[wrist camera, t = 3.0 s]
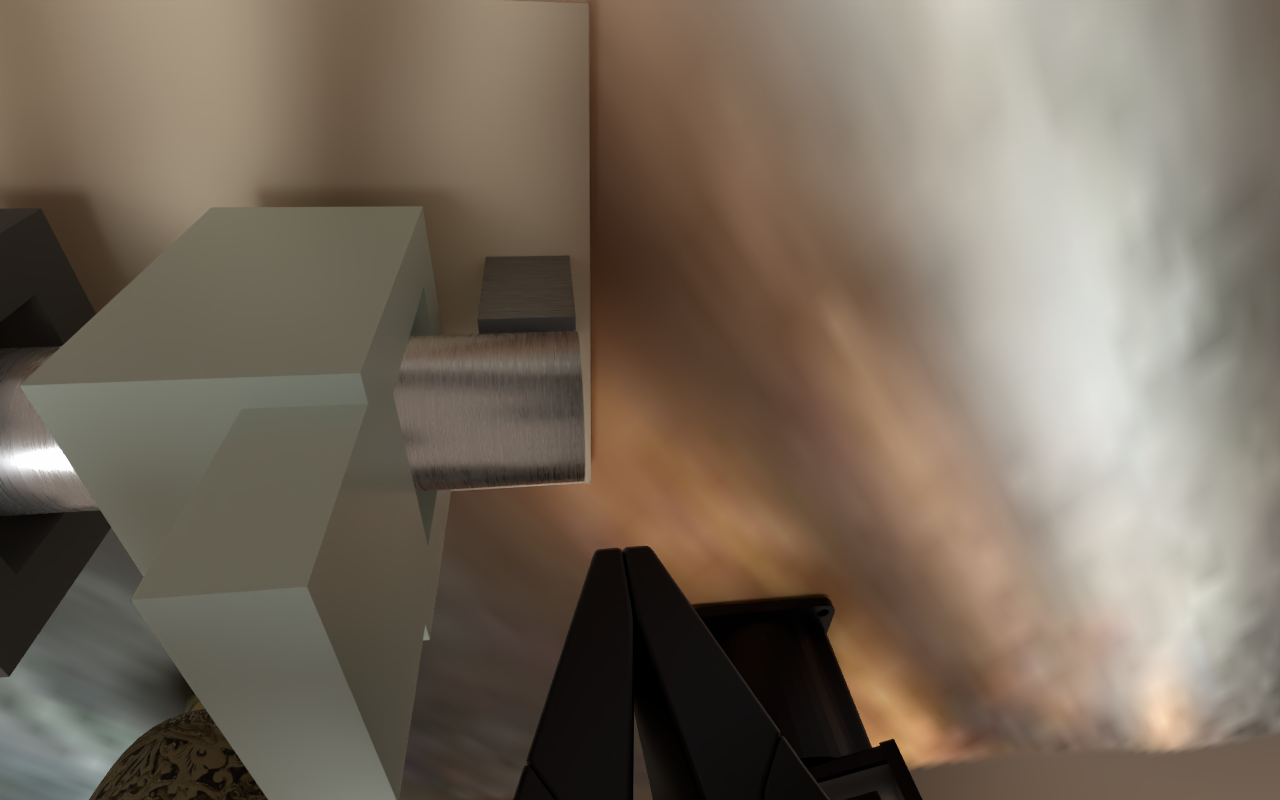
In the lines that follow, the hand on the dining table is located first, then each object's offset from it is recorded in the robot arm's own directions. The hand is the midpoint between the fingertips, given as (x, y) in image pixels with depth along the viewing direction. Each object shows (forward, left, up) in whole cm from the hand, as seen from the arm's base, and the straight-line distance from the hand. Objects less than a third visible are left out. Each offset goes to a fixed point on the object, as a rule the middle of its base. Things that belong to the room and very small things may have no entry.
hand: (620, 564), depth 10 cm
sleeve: (+5, 0, -7) cm, 9 cm away
